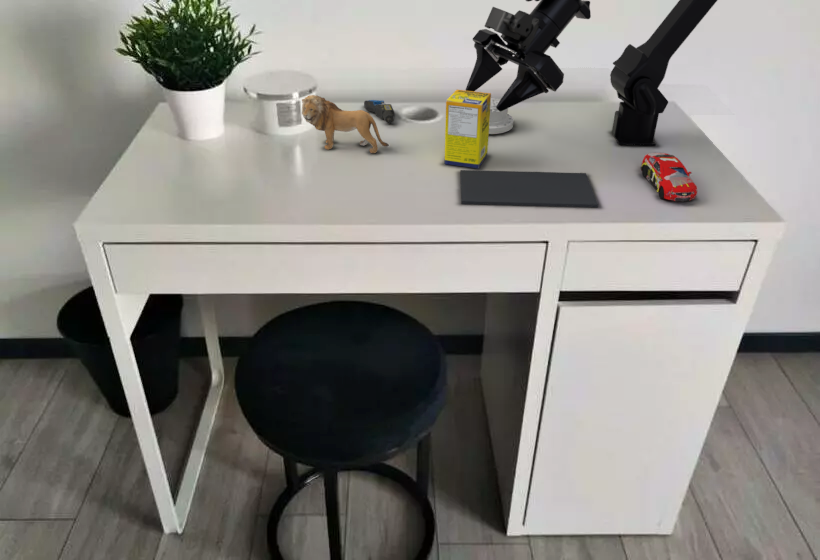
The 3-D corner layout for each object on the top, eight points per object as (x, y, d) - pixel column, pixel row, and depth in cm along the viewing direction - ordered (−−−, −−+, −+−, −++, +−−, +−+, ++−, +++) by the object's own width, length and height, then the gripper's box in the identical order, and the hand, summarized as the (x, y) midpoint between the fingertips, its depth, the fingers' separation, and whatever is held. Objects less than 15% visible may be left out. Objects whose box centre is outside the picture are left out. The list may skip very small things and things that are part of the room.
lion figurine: (301, 151, 121) (297, 100, 116) (307, 140, 125) (303, 89, 120) (387, 154, 120) (386, 103, 115) (390, 142, 124) (389, 92, 119)
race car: (699, 205, 105) (705, 181, 103) (663, 206, 105) (668, 181, 103) (669, 168, 116) (674, 145, 114) (636, 168, 116) (641, 145, 114)
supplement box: (487, 155, 120) (492, 92, 114) (478, 169, 115) (482, 104, 109) (453, 151, 121) (456, 88, 115) (443, 164, 117) (445, 99, 111)
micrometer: (363, 97, 139) (388, 96, 140) (363, 106, 140) (388, 105, 141) (370, 117, 129) (397, 116, 130) (370, 127, 130) (397, 126, 131)
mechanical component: (459, 135, 127) (515, 136, 127) (461, 111, 125) (517, 112, 125) (457, 115, 136) (510, 116, 135) (458, 93, 133) (512, 94, 133)
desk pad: (585, 175, 113) (586, 173, 113) (597, 207, 104) (598, 204, 104) (460, 172, 114) (460, 169, 114) (461, 204, 105) (461, 201, 105)
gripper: (486, -24, 114) (424, 54, 115) (557, -1, 100) (485, 87, 102) (522, 22, 121) (463, 94, 123) (593, 49, 107) (525, 130, 109)
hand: (482, 100), depth 114 cm, fingers open, 9 cm apart
